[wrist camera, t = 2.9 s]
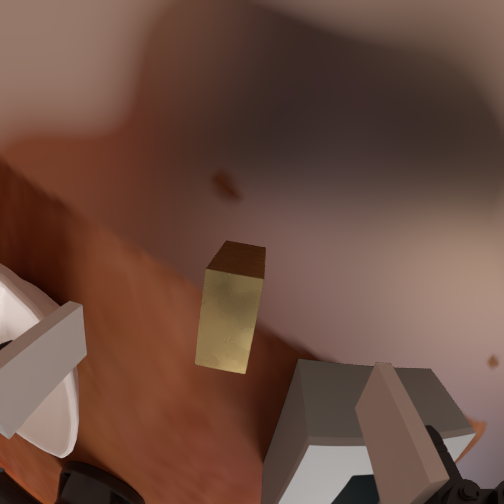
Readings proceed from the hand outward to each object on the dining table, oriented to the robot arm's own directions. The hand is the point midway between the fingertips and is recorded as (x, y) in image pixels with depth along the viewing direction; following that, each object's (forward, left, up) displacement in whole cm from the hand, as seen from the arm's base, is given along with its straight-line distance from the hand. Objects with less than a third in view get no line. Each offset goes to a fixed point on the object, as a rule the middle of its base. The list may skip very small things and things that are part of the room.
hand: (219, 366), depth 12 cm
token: (0, 0, -12) cm, 12 cm away
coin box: (+13, -14, -12) cm, 22 cm away
